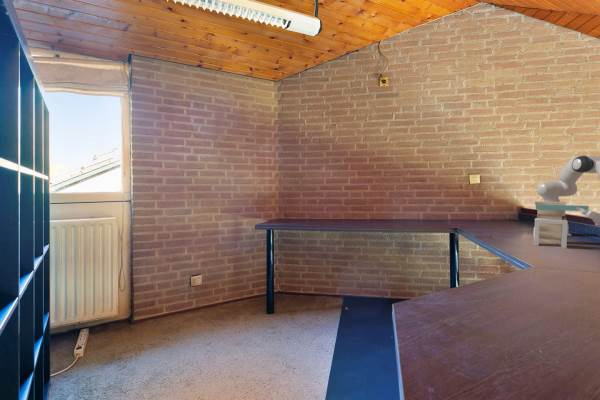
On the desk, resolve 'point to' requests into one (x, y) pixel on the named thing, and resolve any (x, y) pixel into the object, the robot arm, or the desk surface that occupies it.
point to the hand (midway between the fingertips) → (576, 207)
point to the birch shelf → (549, 231)
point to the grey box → (551, 221)
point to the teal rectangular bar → (561, 207)
